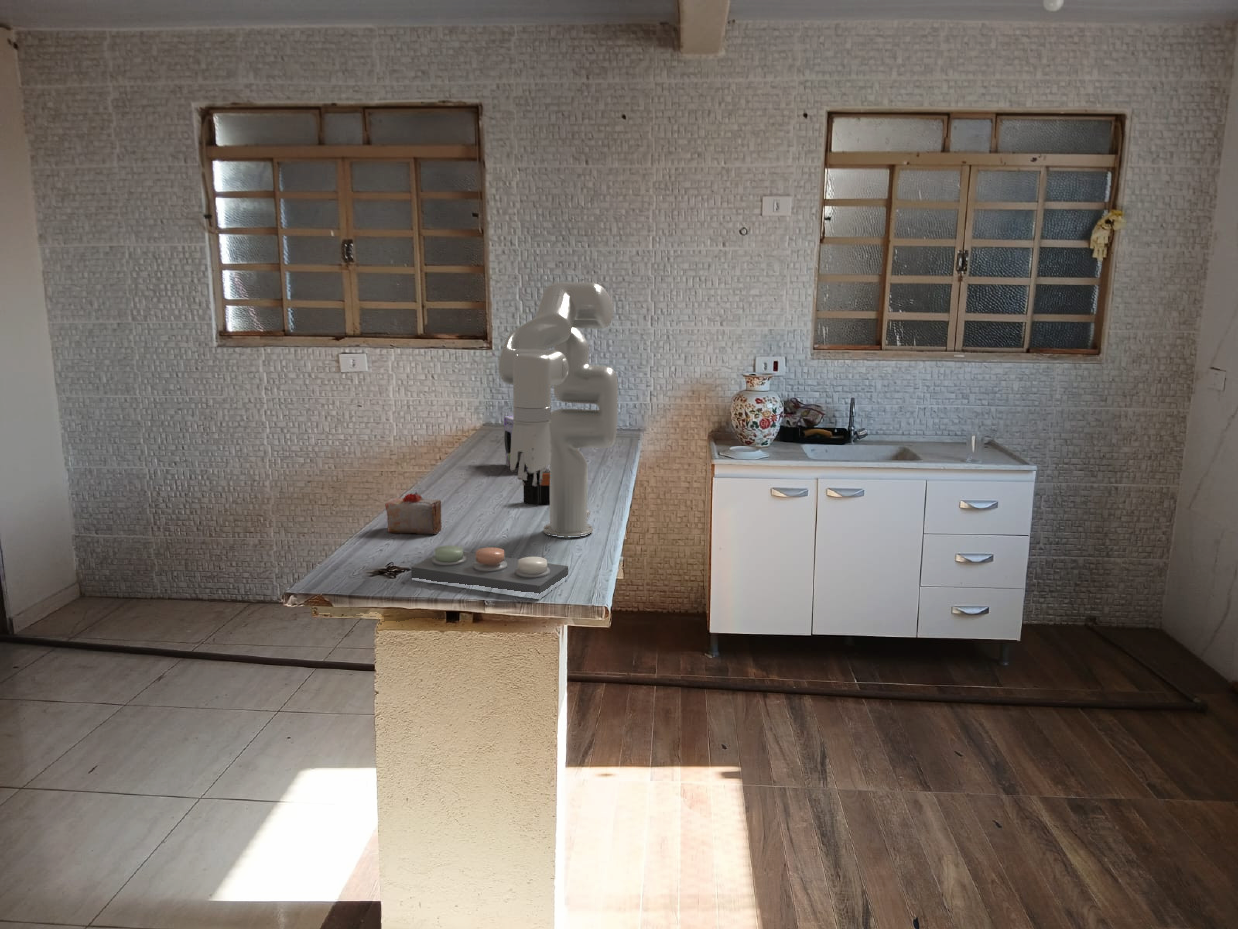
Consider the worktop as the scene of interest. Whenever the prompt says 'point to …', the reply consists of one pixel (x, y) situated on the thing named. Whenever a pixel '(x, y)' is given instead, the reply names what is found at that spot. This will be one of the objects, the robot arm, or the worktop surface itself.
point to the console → (488, 573)
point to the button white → (532, 565)
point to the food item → (413, 515)
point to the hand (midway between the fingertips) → (532, 503)
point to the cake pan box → (508, 436)
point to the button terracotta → (490, 555)
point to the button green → (449, 553)
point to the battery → (545, 487)
